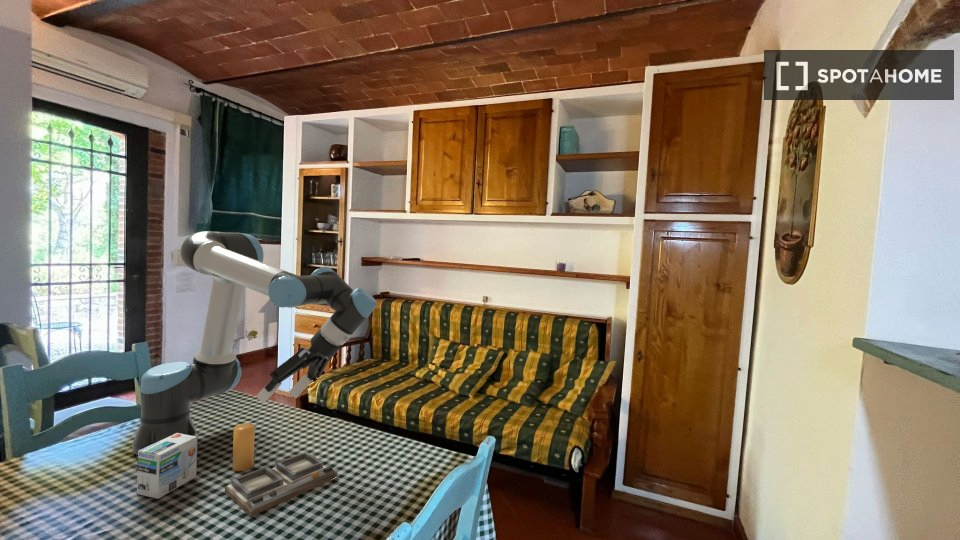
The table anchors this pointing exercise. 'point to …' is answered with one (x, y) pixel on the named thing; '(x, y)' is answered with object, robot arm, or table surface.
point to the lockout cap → (243, 446)
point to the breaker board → (278, 482)
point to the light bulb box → (166, 465)
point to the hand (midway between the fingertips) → (277, 397)
